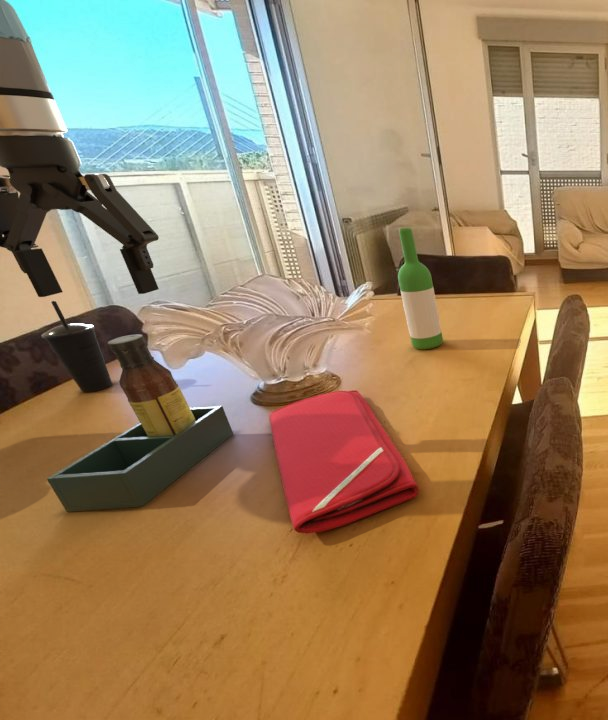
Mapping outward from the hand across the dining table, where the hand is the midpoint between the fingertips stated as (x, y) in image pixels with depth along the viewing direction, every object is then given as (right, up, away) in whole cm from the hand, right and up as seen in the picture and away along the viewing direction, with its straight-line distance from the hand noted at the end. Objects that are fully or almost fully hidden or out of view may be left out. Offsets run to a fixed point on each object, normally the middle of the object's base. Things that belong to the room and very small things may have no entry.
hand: (100, 293), depth 70 cm
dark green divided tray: (+3, -27, +6) cm, 28 cm away
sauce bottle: (+3, -25, +10) cm, 27 cm away
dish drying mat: (+30, -26, +9) cm, 41 cm away
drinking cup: (-40, -16, +36) cm, 56 cm away
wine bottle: (+27, -6, +55) cm, 61 cm away
